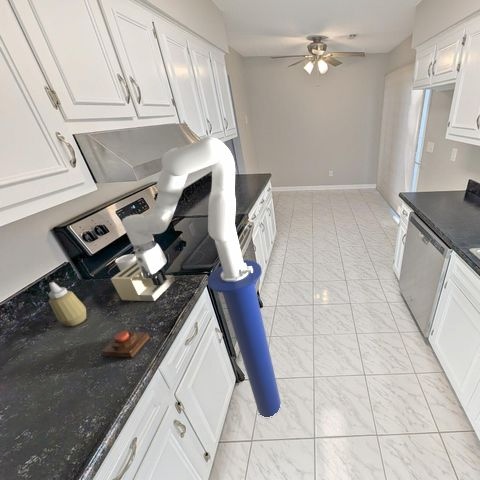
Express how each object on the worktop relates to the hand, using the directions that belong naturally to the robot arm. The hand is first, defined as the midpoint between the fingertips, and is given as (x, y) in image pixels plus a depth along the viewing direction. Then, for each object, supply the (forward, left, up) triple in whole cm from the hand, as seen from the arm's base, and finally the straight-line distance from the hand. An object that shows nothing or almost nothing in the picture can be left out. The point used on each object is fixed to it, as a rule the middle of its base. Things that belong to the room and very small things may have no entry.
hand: (160, 282), depth 109 cm
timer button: (-8, +30, 0) cm, 31 cm away
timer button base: (-8, +30, -4) cm, 31 cm away
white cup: (+22, -9, -4) cm, 24 cm away
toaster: (+6, +1, -4) cm, 7 cm away
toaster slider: (0, 0, 0) cm, 0 cm away
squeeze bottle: (+22, +20, -4) cm, 30 cm away
